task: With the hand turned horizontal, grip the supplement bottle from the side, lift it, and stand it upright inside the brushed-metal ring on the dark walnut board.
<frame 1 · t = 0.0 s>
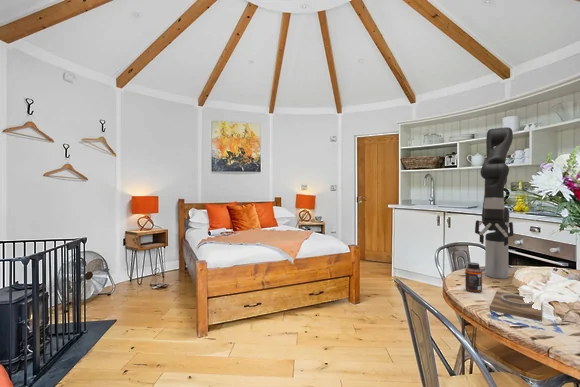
hand: (493, 244, 138), 17 cm above the table, tool pointing down, fingers open, 8 cm apart
walnut board: (516, 306, 112), on the table
supplement bottle: (473, 291, 129), on the table
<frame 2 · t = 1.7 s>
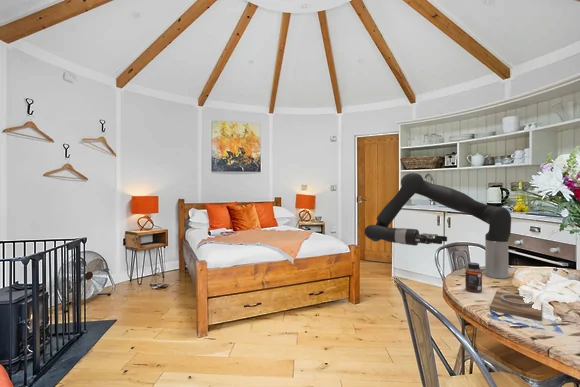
hand: (444, 240, 136), 20 cm above the table, tool horizontal, fingers open, 8 cm apart
nothing on the table moved.
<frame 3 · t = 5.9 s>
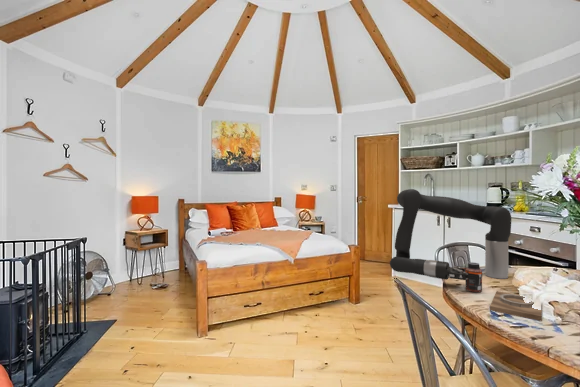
hand: (480, 275, 127), 7 cm above the table, tool horizontal, fingers closed on supplement bottle, 6 cm apart
supplement bottle: (473, 290, 129), on the table, touching gripper
when the fingers open (9 cm above the table, at t = 12.0 s): supplement bottle drops 1 cm, resting on walnut board.
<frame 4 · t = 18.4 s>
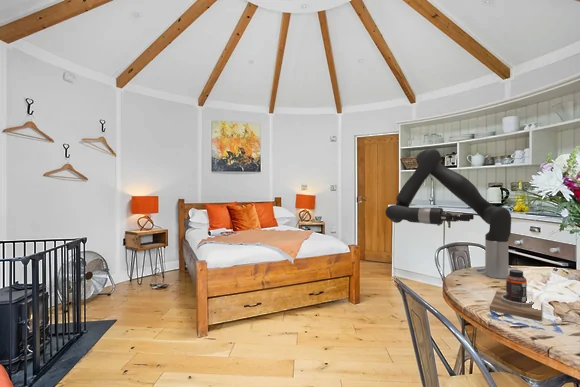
hand: (471, 217, 131), 30 cm above the table, tool horizontal, fingers open, 8 cm apart
supplement bottle: (516, 302, 112), point 1 cm above the table, touching walnut board
at the end: supplement bottle 0.1 cm off-centre on the walnut board, point 1.3 cm above the walnut board's base; supplement bottle tilted 0°; the gripper is holding nothing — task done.
